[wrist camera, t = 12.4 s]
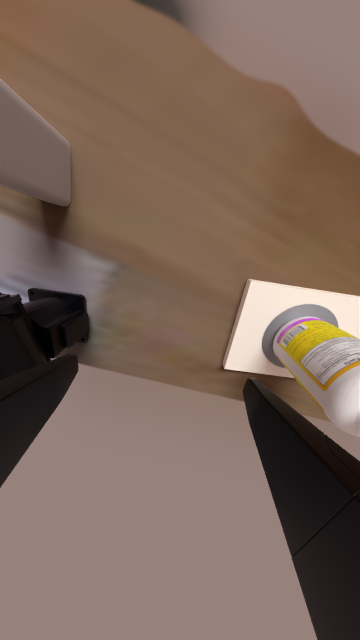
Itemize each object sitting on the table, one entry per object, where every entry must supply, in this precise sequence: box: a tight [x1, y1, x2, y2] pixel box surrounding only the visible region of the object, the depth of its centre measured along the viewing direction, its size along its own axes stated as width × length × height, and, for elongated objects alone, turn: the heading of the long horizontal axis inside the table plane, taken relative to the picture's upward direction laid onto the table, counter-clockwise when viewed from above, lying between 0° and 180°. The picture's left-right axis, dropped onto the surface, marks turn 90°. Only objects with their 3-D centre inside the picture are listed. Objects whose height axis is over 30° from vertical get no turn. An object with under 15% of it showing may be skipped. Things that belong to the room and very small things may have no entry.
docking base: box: [222, 279, 360, 378], centre depth 22 cm, size 16×12×1 cm
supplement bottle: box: [273, 316, 360, 437], centre depth 15 cm, size 7×7×13 cm
